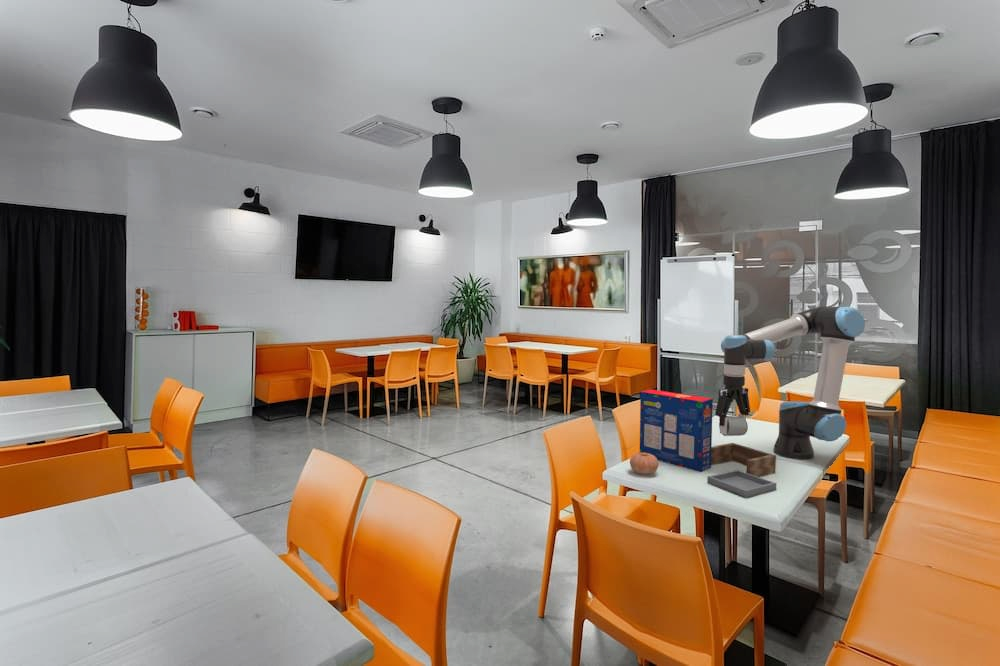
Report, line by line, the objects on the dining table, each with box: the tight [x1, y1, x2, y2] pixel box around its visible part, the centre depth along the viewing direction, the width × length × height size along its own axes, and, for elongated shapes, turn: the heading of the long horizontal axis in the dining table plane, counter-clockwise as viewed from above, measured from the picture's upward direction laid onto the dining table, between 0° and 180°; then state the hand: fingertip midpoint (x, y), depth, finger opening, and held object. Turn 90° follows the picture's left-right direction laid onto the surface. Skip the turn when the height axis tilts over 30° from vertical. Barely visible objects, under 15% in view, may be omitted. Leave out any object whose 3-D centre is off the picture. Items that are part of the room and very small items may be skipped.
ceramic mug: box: [718, 415, 749, 437], centre depth 199 cm, size 11×8×8 cm
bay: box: [711, 442, 777, 478], centre depth 202 cm, size 15×20×7 cm
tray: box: [706, 469, 777, 499], centre depth 183 cm, size 16×16×2 cm
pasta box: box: [639, 389, 714, 473], centre depth 211 cm, size 28×8×28 cm, turn 40°
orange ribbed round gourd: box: [629, 452, 659, 476], centre depth 198 cm, size 11×11×8 cm
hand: (732, 432), depth 198 cm, fingers closed on ceramic mug, 9 cm apart
